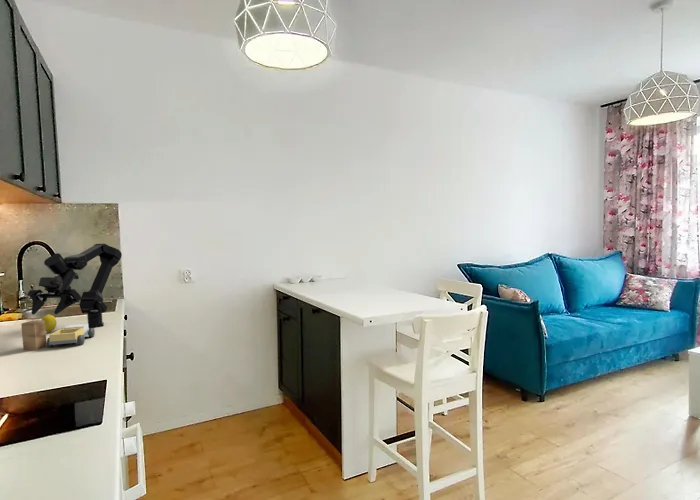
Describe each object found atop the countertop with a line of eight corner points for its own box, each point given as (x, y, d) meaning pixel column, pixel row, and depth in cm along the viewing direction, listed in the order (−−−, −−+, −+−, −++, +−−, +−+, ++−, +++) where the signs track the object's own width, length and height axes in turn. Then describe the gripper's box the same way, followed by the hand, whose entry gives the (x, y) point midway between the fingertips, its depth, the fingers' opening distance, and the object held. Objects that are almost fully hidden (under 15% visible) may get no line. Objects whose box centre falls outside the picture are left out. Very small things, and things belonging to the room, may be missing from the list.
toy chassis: (64, 337, 173) (63, 325, 173) (95, 335, 176) (94, 322, 175) (45, 349, 157) (44, 335, 157) (80, 346, 160) (79, 332, 160)
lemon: (60, 330, 185) (58, 312, 184) (50, 334, 180) (48, 315, 179) (48, 330, 186) (47, 312, 185) (38, 334, 180) (36, 315, 180)
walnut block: (34, 346, 162) (32, 320, 161) (46, 346, 161) (44, 320, 161) (23, 350, 157) (21, 323, 156) (36, 350, 156) (34, 323, 156)
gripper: (29, 269, 168) (7, 302, 158) (73, 268, 167) (54, 301, 157) (46, 286, 177) (26, 318, 166) (88, 285, 176) (71, 317, 165)
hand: (43, 313), depth 164 cm, fingers open, 9 cm apart
